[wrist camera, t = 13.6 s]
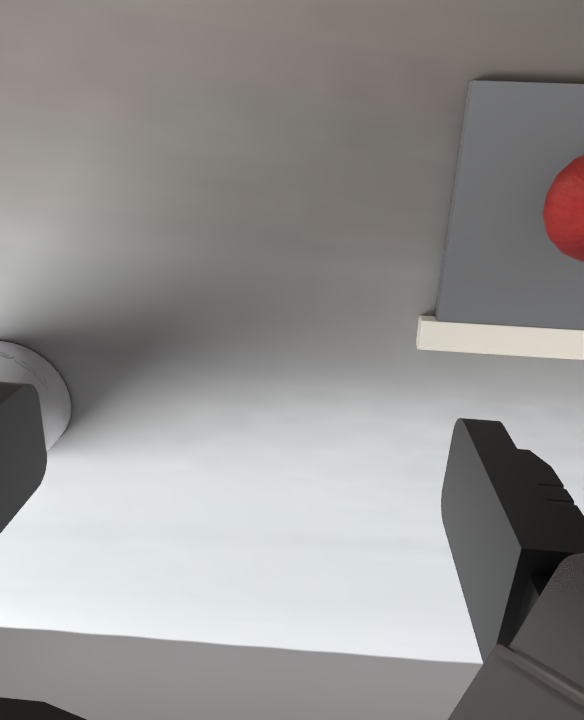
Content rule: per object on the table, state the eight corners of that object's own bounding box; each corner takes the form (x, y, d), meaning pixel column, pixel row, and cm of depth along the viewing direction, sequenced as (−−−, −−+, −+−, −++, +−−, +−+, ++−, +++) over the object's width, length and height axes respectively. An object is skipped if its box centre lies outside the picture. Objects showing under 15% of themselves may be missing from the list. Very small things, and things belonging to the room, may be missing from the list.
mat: (659, 358, 37) (668, 365, 36) (415, 343, 38) (417, 349, 37) (747, 90, 31) (761, 90, 30) (451, 80, 32) (454, 79, 31)
